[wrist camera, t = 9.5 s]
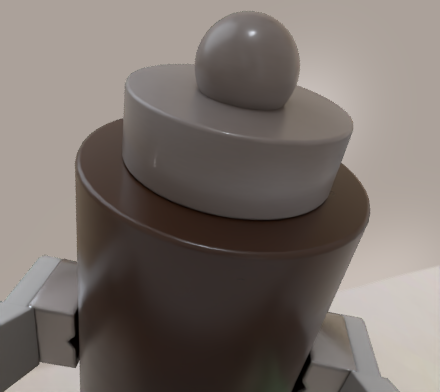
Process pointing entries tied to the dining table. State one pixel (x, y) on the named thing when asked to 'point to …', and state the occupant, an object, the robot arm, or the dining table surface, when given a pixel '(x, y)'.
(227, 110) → the pepper mill
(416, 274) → the dining table surface
